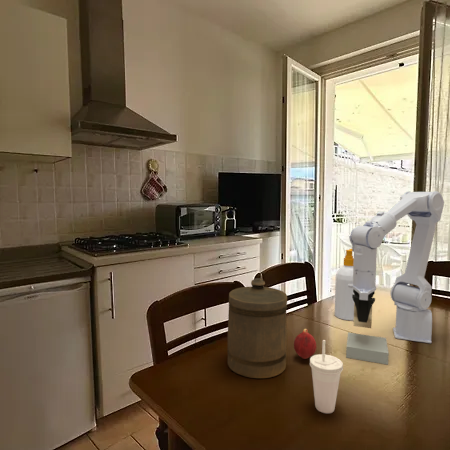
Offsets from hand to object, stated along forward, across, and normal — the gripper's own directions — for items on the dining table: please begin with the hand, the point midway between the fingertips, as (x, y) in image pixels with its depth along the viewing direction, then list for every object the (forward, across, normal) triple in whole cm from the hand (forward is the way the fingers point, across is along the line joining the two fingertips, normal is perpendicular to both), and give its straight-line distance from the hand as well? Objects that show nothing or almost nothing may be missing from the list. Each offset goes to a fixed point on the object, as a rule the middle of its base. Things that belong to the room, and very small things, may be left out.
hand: (362, 318), depth 92 cm
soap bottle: (+9, -26, -5) cm, 28 cm away
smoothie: (+9, +30, -7) cm, 33 cm away
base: (+9, +2, +1) cm, 9 cm away
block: (+2, 0, 0) cm, 2 cm away
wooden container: (+9, +19, -25) cm, 32 cm away
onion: (+9, +12, -14) cm, 20 cm away
